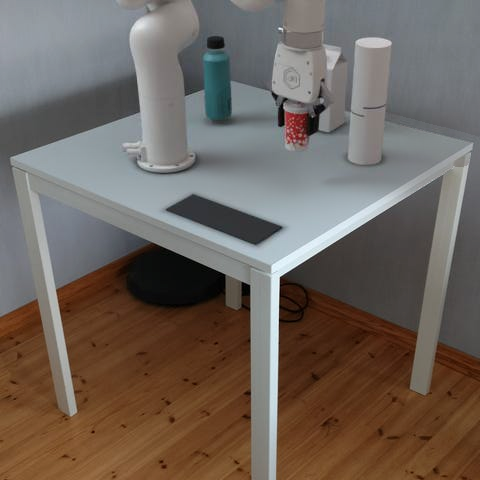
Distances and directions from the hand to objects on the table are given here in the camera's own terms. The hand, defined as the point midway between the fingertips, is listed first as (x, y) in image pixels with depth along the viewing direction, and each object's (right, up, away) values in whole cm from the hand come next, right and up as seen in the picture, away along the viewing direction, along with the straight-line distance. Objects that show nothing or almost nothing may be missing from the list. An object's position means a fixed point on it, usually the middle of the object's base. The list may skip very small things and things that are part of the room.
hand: (297, 128), depth 156 cm
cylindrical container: (+16, -3, +16) cm, 23 cm away
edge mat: (-15, -18, -6) cm, 24 cm away
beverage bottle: (-17, +9, +36) cm, 40 cm away
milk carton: (+9, +7, +32) cm, 34 cm away
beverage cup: (0, -3, +2) cm, 4 cm away
